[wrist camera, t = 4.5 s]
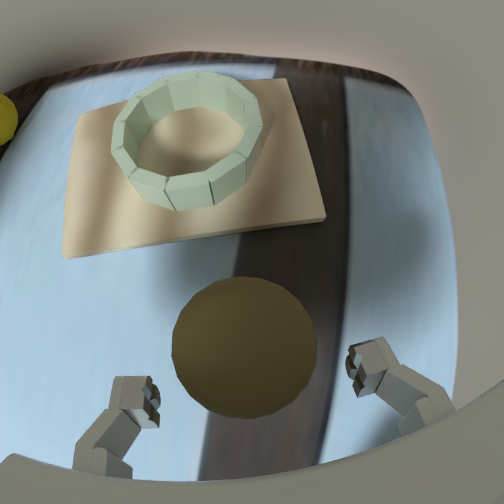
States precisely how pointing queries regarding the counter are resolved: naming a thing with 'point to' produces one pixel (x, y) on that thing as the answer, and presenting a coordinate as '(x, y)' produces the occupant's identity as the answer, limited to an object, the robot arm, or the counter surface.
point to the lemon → (7, 119)
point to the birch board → (185, 162)
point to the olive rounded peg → (244, 347)
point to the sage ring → (178, 98)
